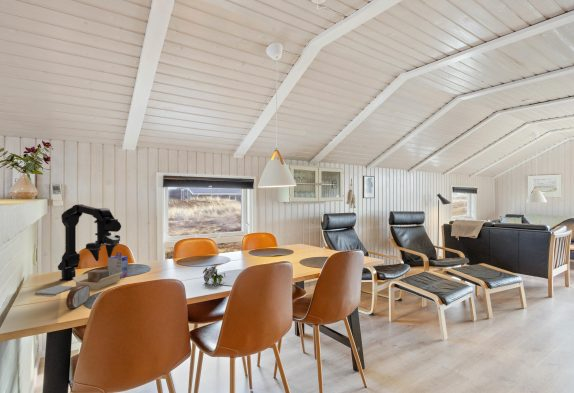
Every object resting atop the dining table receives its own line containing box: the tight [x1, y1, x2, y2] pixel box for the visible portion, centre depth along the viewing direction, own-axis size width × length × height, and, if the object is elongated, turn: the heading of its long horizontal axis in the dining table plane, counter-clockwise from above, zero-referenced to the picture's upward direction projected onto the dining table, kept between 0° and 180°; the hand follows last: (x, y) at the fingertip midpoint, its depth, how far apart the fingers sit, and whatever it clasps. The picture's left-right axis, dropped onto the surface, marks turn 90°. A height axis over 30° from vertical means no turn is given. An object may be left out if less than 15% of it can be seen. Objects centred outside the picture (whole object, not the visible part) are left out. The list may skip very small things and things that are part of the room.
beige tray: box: [72, 272, 123, 290], centre depth 176 cm, size 18×16×6 cm
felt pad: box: [34, 285, 76, 297], centre depth 165 cm, size 12×12×1 cm
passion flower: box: [202, 264, 226, 286], centre depth 177 cm, size 11×11×12 cm
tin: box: [65, 284, 91, 309], centre depth 144 cm, size 15×3×8 cm, turn 5°
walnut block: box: [87, 269, 109, 283], centre depth 176 cm, size 9×5×7 cm, turn 78°
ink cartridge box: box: [107, 252, 129, 279], centre depth 191 cm, size 10×6×14 cm, turn 78°
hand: (103, 259), depth 178 cm, fingers open, 9 cm apart
